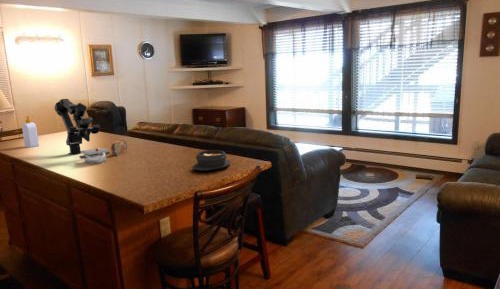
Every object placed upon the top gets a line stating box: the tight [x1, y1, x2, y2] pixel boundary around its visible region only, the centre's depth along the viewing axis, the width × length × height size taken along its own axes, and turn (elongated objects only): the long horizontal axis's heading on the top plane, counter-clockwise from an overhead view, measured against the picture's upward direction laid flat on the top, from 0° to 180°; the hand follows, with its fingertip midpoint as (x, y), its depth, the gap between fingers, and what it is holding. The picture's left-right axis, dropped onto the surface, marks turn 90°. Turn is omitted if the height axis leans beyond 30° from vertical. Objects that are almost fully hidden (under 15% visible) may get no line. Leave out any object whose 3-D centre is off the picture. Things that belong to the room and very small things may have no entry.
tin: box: [110, 139, 128, 156], centre depth 247 cm, size 15×3×8 cm, turn 168°
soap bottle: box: [21, 115, 40, 148], centre depth 280 cm, size 9×7×23 cm
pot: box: [79, 151, 110, 165], centre depth 226 cm, size 12×17×5 cm
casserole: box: [191, 149, 232, 172], centre depth 205 cm, size 25×19×8 cm
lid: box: [80, 147, 110, 155], centre depth 225 cm, size 13×12×3 cm
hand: (88, 141), depth 231 cm, fingers closed
